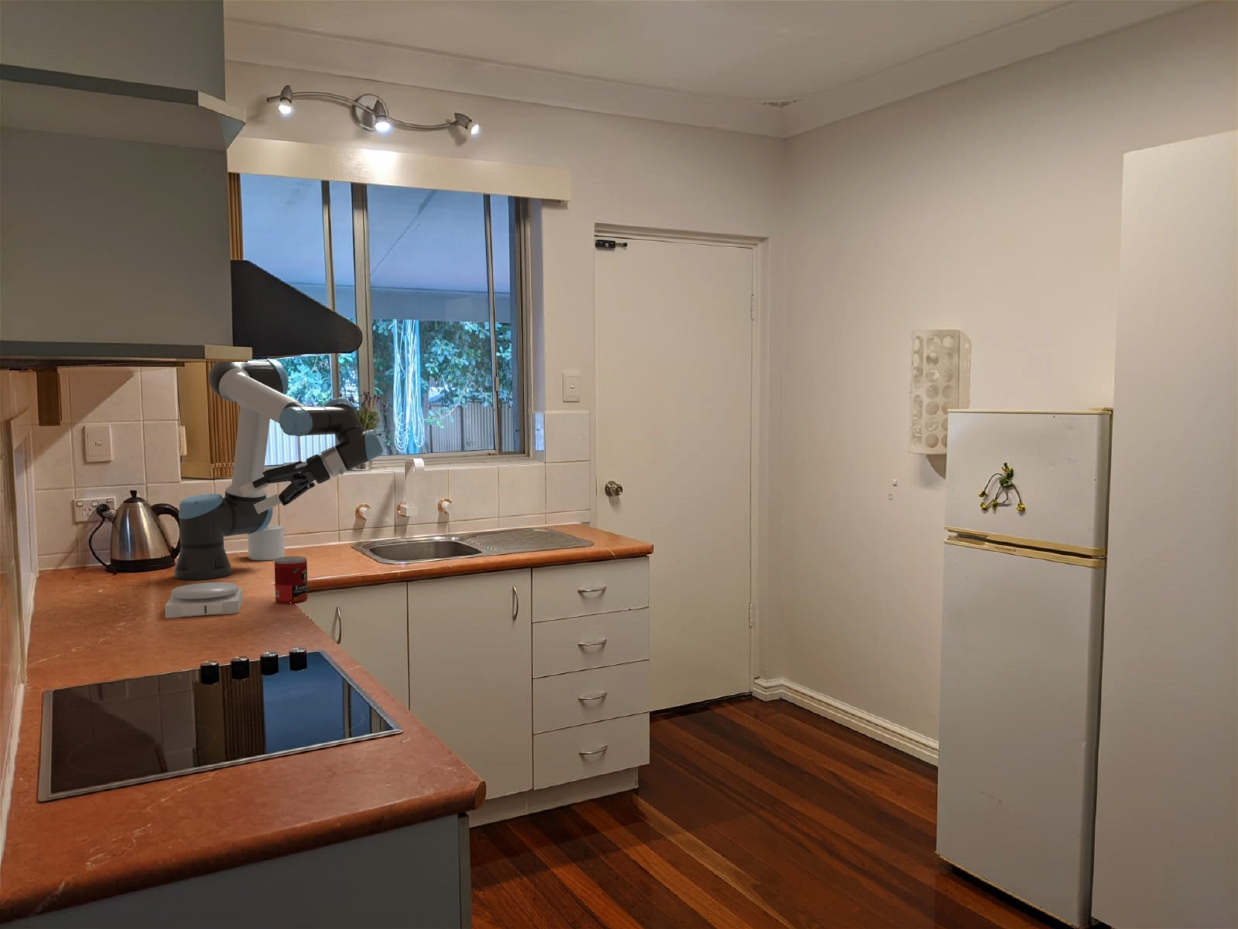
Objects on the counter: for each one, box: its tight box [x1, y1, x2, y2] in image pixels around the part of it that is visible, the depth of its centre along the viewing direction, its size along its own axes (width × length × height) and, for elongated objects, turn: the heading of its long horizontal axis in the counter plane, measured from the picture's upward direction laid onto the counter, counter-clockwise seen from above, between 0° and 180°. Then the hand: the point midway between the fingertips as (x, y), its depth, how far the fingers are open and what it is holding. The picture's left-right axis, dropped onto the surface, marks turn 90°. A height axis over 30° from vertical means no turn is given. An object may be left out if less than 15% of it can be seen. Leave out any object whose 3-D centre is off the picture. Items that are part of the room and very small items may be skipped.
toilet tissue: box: [247, 524, 286, 561], centre depth 301 cm, size 11×12×10 cm
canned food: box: [273, 555, 309, 605], centre depth 236 cm, size 8×8×11 cm
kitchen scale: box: [164, 581, 244, 619], centre depth 228 cm, size 17×16×5 cm
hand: (248, 501), depth 242 cm, fingers open, 13 cm apart
